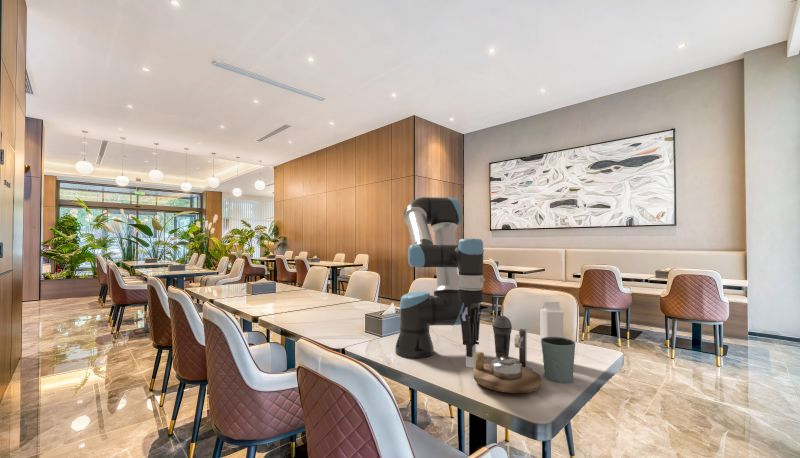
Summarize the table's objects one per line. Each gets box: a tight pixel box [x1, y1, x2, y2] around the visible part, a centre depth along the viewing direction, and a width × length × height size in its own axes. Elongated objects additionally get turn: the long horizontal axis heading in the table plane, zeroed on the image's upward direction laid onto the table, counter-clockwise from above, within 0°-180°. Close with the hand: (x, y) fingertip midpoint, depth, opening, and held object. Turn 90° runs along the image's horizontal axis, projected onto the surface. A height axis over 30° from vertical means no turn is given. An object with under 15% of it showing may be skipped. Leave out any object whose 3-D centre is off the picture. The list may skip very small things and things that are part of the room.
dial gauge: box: [514, 328, 533, 370], centre depth 117 cm, size 5×12×14 cm, turn 149°
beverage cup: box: [492, 304, 513, 359], centre depth 135 cm, size 7×7×20 cm
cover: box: [491, 355, 522, 380], centre depth 109 cm, size 9×9×5 cm
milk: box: [539, 301, 565, 362], centre depth 130 cm, size 6×6×22 cm
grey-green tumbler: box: [541, 337, 576, 384], centre depth 115 cm, size 10×10×12 cm
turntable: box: [473, 351, 542, 394], centre depth 109 cm, size 20×20×6 cm
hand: (470, 366), depth 108 cm, fingers closed
